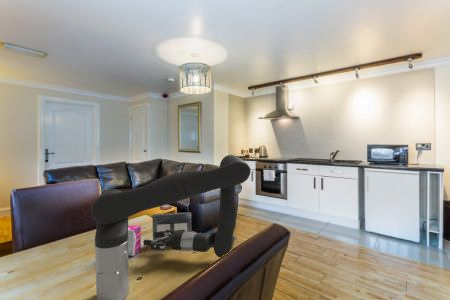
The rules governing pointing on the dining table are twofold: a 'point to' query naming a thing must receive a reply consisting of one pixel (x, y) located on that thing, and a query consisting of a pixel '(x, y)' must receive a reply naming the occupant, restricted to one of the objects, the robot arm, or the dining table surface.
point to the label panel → (171, 222)
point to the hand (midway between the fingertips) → (149, 238)
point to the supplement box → (134, 240)
